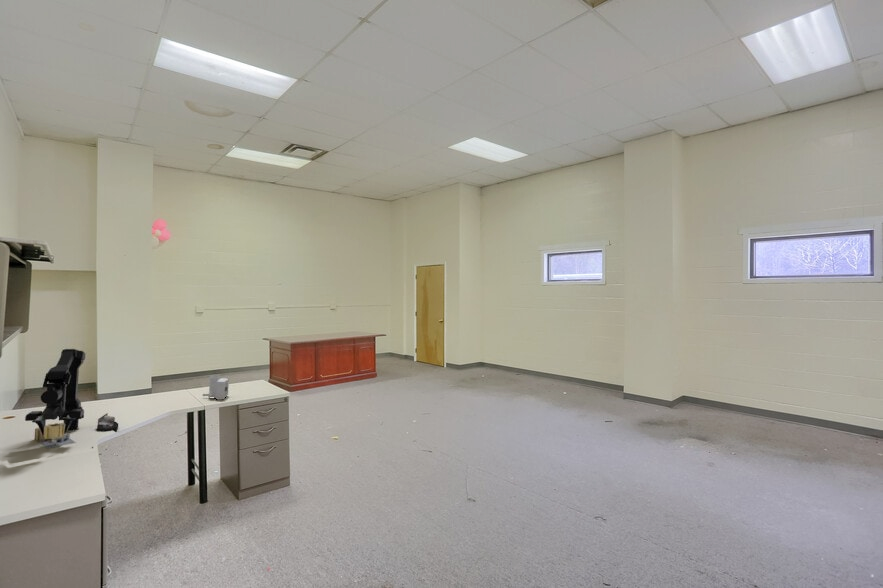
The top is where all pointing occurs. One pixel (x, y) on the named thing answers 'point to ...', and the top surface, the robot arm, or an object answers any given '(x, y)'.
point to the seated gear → (39, 435)
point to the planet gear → (54, 430)
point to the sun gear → (63, 438)
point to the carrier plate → (48, 443)
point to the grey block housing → (218, 387)
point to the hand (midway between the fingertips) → (54, 434)
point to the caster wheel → (107, 423)
